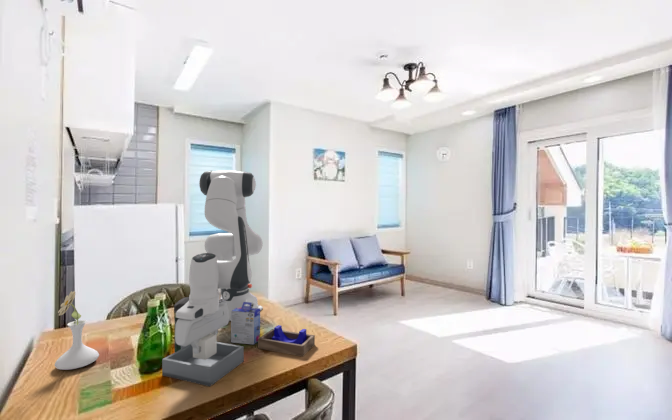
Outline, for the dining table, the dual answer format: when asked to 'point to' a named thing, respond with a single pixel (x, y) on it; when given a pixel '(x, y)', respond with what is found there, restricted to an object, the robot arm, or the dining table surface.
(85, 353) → the flower in vase
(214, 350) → the block
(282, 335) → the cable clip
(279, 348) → the organizer
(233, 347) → the tray
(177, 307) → the coffee jar
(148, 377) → the dining table surface
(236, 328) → the ink cartridge box
